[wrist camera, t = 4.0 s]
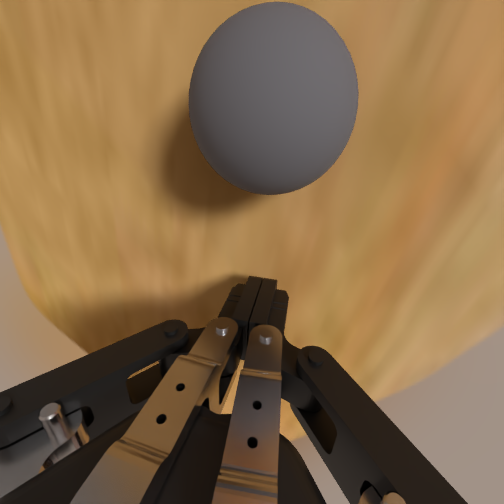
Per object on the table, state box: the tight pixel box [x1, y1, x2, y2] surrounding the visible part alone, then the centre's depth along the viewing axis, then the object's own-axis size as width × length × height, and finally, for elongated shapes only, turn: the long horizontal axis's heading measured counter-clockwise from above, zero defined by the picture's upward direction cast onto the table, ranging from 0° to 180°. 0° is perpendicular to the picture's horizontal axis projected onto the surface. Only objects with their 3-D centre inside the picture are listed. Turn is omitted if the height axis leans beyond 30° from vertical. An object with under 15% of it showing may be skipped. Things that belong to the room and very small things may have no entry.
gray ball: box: [189, 2, 358, 195], centre depth 9 cm, size 6×6×6 cm
